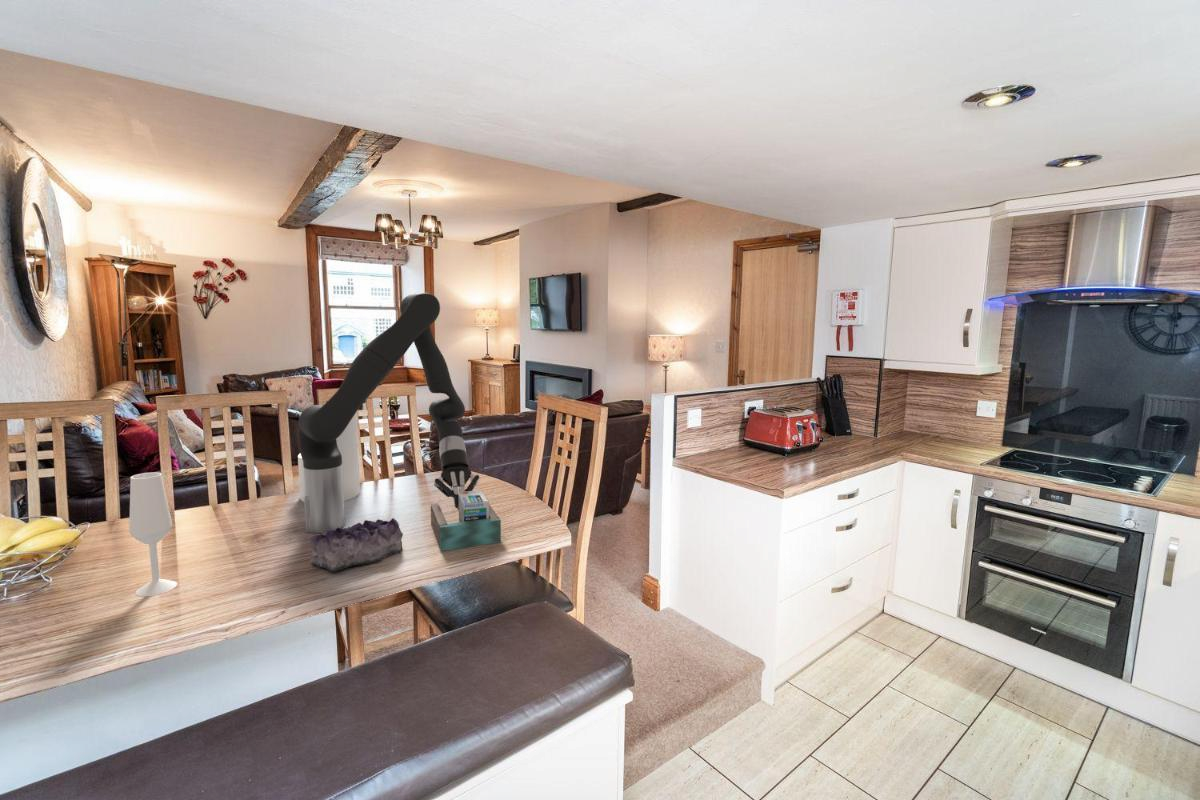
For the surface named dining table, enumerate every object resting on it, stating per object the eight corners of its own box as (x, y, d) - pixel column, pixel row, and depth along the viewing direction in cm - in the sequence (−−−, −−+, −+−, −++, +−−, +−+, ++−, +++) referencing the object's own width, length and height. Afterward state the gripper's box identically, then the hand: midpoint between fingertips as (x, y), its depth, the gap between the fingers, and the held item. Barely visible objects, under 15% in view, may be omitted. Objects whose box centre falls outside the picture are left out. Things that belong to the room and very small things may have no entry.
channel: (440, 550, 131) (440, 527, 131) (431, 524, 149) (430, 503, 148) (500, 542, 138) (500, 519, 137) (484, 517, 155) (484, 497, 154)
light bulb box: (490, 540, 138) (489, 500, 137) (463, 544, 136) (463, 503, 134) (482, 526, 148) (482, 489, 147) (457, 529, 146) (457, 491, 144)
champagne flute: (180, 588, 110) (170, 475, 107) (138, 599, 105) (126, 482, 102) (173, 577, 115) (164, 469, 112) (132, 588, 110) (121, 475, 107)
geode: (390, 540, 138) (393, 504, 136) (410, 560, 130) (413, 522, 128) (304, 559, 124) (305, 519, 122) (319, 583, 116) (321, 541, 114)
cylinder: (371, 493, 175) (368, 408, 171) (320, 507, 160) (315, 415, 156) (340, 484, 184) (336, 403, 180) (289, 496, 169) (284, 409, 165)
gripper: (430, 449, 150) (437, 504, 141) (477, 446, 156) (487, 499, 146) (428, 463, 156) (434, 517, 147) (474, 460, 161) (483, 511, 152)
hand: (461, 508), depth 147 cm, fingers closed
